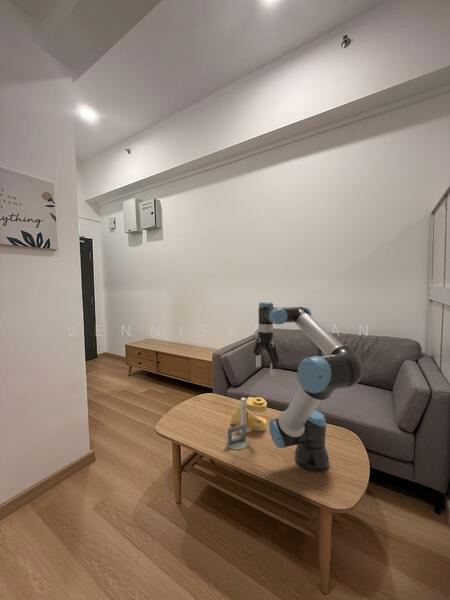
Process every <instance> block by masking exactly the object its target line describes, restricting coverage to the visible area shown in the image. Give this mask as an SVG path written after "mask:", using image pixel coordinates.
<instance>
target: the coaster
mask: <svg viewBox="0 0 450 600" xmlns="http://www.w3.org/2000/svg"><path fill="white" fill-rule="evenodd" d="M239 437H242V435H238V434H237V435H232V440H233V439H236V438H239ZM248 445H249V444H248V439H246V440H245V441H242V442H239V443H236V444H232V445H228V438H227V440H226V446H227V447H228V448H230V449H232V450H235V451H240V450H243V449H245V448H247V446H248Z"/></svg>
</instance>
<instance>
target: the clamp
mask: <svg viewBox="0 0 450 600" xmlns="http://www.w3.org/2000/svg"><path fill="white" fill-rule="evenodd" d="M246 399H247V409H248V410H249V411H250V412H251V413H252V414H253V415H255V413H265V412H266V411H267V410H268V407H267V406H268V403H267V401H266V400H265V399H264V398H263V397H261V396H260V397H254V396H248V397H247V398H246ZM255 416H256V417H257V418H258V419H259V420H260V423H258V422H257V421H256V420H255V419H254V418H253V417H252V416H251V415H249V414H248V413H246V427H249V428H251V429H252V431H255V432H264V431H266V430H267V427H268V426H267V423H268V422H267V420H266V419H265V417H261V416H257V415H255ZM230 424H231V425H233V426H237V425H241V406H239V407H238V409H237V410H236V411H235V413H234V414H233V415H232V417H231V420H230Z"/></svg>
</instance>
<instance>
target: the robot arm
mask: <svg viewBox="0 0 450 600" xmlns="http://www.w3.org/2000/svg"><path fill="white" fill-rule="evenodd" d="M287 323H295V325H297V326H298V327H299V328H300V330H302V331H303V333H305V335H306V336H307V337H308V338H309V339H310V340H311V341H312V342H313V343H314V344H315V345H316V346H317V348H318V349H320V351H321V352H322V353H323V354H324V355H321V356H319V355H313V356H311V357H306V358H304V359H303V360H302V361H300V363H299V364H298V367H297V372H298V373H297V381H298V383H299V388H298V390H297V391H296V393H295V395H294V396H293V399H292V400H291V402H290V404H289V405H288V407H287V409H286V410H283V411H282V412H280V413H279V415H278V417H277V418H272V419H270V420H269V422H268V423H269V424H268V429H269V434H270V437H271V440H272V441H273V444H274V446H275V447H276V448H278V449H285V448H288V447H293V446H296V448H295V450H294V459H295V461H296V463H297V464H298V465H299V466H300V467H301V468H304V469H305V470H307V471H311V472H323V471H325V470H327V469H328V468H329V466H330V458H329V455H328V451H327V448H326V432H327V431H326V430H327V423H326V421H327V420H326V417H325V415H324V413H322V412H320V411H319V410H317V409H316V408H317V407H318V405H319V404H320V402H321V401H326V400H328V399H329V398H330V397H331V396H332V394H333V392H334V391H336V390H338V389H346V388H351V387H353V386H355V385H357V384H358V383H359V381H361V379H362V376H363V373H364V371H363V364H362V362H361V361H362V360H360V358H359V357H358V354H357V353H355V351H353V350H352V349H351V348H350V347H349V346H348V345H344V344H342V343H341V342H340V341H339V340H338V339H337V338H335V336H333V335H332V334H331V333H330V332H329V331H328V330H327V329H326V328H324V327H323V326H322V324H320V323H319V322H318V321H317V320H316V319H315V318H313V317H312V312H311V310H310V308H309V307H306V306H294V307H292V306H291V307H287V306H286V307H274V303H273V302H272V301H262V302H259V303H258V330H257V331H258V337H257V338H256V342H255V345H254V349H253V354H255V368H260V367H262V366H261V365H262V362H261V361H262V355H261V353H262V352H263V349H264V350H265V352H267V355H268V356H269V357H268V358H269V359H270V367H269V369H270V370H269V371H270V372H269V373H270V376H271V377H272V376H276V373H277V372H276V371H277V364H278V363H279V362H280V359H279V356H278V355H279V354H278V351H277V348H276V347H277V346H276V342H272V340H273V338H274V337H273V336H274V332H273V331H274V325H283V324H287Z"/></svg>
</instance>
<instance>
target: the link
mask: <svg viewBox="0 0 450 600" xmlns="http://www.w3.org/2000/svg"><path fill="white" fill-rule="evenodd" d="M235 426H236V427H235ZM235 426H233V427H230V428H227V439H228V445H232V444H236V443H239V442H242V441H245V440H247V433H246V425H245V424H243V425H240V426H237V425H235ZM239 430H242V434H241V436H242V437H239V438H236V439H233V440H232V436H233V434H232V433H235V432H239Z"/></svg>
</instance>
